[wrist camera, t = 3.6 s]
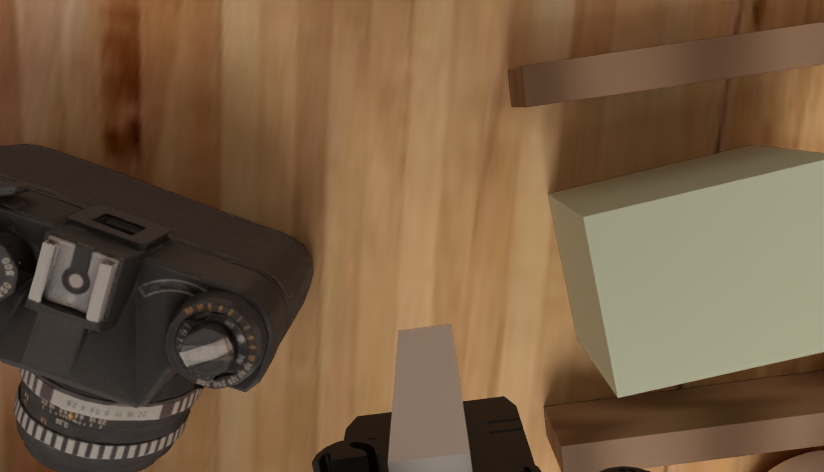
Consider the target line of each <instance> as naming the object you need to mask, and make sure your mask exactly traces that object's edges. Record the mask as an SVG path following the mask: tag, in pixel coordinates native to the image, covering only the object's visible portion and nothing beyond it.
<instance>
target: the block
mask: <svg viewBox="0 0 824 472" xmlns="http://www.w3.org/2000/svg"><path fill="white" fill-rule="evenodd" d="M548 198H549V203H550V208H551V213H552V217H553V222H554V227H555V232H556V237H557V242H558V247H559V252H560V257H561V262H562V267H563V272H564V277H565V282H566V287H567V292H568V297H569V301H570V306H571V311H572V316H573V321H574V326H575V331H576V336H577V340H578V342H579V343H580V345H581V346H582V348H583V349H584V350H585V352H586V353H587V355H588V356H589V357H590V359H591V360H592V362H593V363H594V365H595V366H596V367H597V369H598V370H599V372H600V373H601V375H602V376H603V377H604V379H605V380H606V382H607V383H608V385H609V386H610V387H611V389H612V390H613V392H614V393H615V395H616V396H617V397H618V398H620V397H625V396H629V395H634V394H638V393H643V392H647V391H652V390H656V389H661V388H665V387H670V386H674V385H679V384H683V383H687V382H692V381H696V380H701V379H705V378H710V377H714V376H719V375H723V374H728V373H732V372H737V371H741V370H746V369H750V368H755V367H759V366H764V365H768V364H773V363H777V362H782V361H786V360H791V359H795V358H800V357H804V356H809V355H813V354H817V353H822V352H824V153H818V152H809V151H801V150H792V149H784V148H775V147H766V146H758V145H749V146H745V147H741V148H737V149H733V150H728V151H724V152H720V153H716V154H712V155H708V156H704V157H699V158H695V159H691V160H687V161H683V162H679V163H674V164H670V165H666V166H662V167H658V168H654V169H650V170H645V171H641V172H637V173H633V174H629V175H625V176H620V177H616V178H612V179H608V180H604V181H600V182H596V183H591V184H587V185H583V186H579V187H575V188H571V189H566V190H562V191H558V192H554V193H550V194H548Z"/></svg>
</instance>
